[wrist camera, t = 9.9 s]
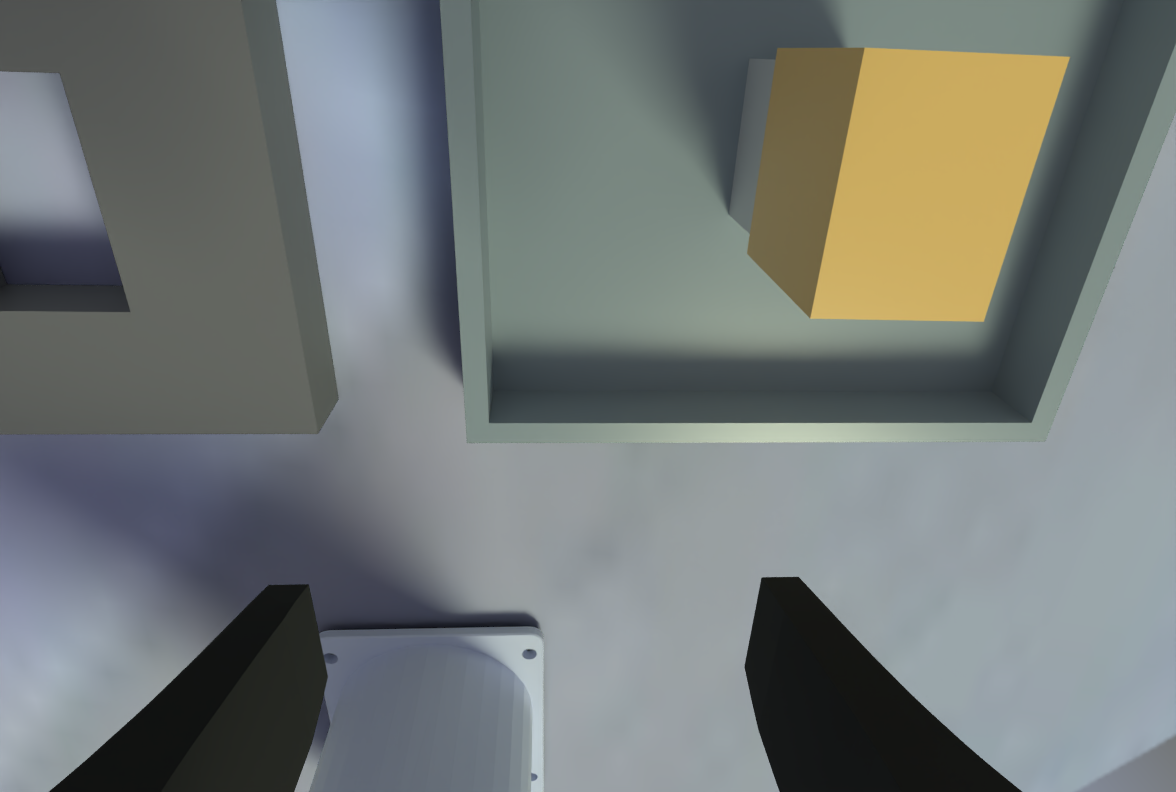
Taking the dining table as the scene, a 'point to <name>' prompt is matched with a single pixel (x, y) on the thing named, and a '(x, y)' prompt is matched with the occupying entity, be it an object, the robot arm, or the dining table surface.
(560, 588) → the dining table surface
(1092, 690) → the dining table surface
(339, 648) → the robot arm
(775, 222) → the block
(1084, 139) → the parts tray
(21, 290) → the fuse holder
